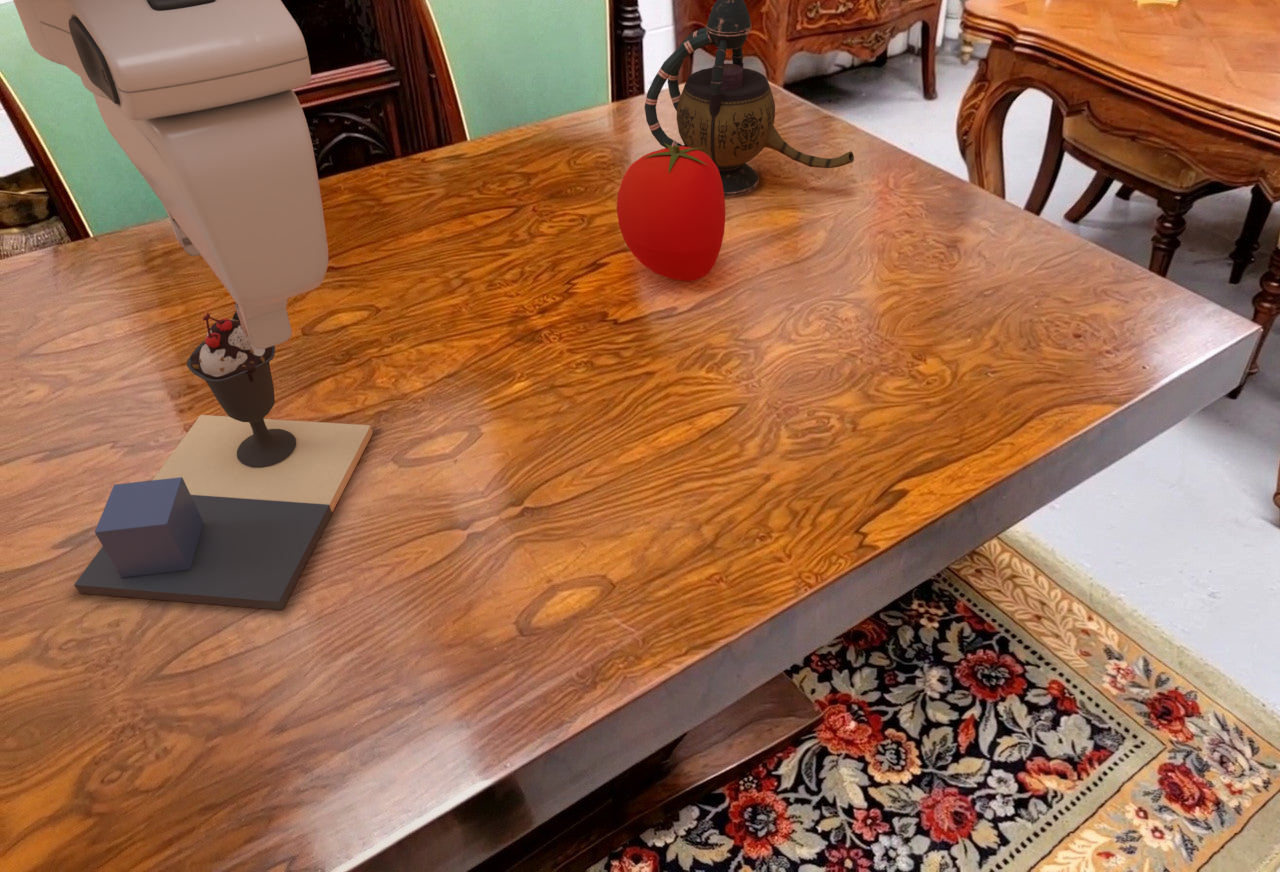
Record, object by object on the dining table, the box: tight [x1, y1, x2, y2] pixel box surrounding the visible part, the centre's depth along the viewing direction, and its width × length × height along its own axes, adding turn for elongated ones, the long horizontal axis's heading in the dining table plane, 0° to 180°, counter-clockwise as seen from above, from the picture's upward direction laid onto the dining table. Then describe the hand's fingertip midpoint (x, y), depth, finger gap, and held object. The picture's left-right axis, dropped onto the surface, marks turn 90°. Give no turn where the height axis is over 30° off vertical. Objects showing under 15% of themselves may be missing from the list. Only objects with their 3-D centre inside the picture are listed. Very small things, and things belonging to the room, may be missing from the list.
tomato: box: [616, 143, 726, 282], centre depth 99 cm, size 13×11×14 cm
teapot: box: [644, 0, 855, 198], centre depth 111 cm, size 12×25×23 cm, turn 71°
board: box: [73, 414, 374, 611], centre depth 76 cm, size 16×20×1 cm
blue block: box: [94, 477, 204, 578], centre depth 70 cm, size 5×5×5 cm
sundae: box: [186, 310, 296, 467], centre depth 76 cm, size 7×7×15 cm
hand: (232, 289), depth 45 cm, fingers open, 8 cm apart
